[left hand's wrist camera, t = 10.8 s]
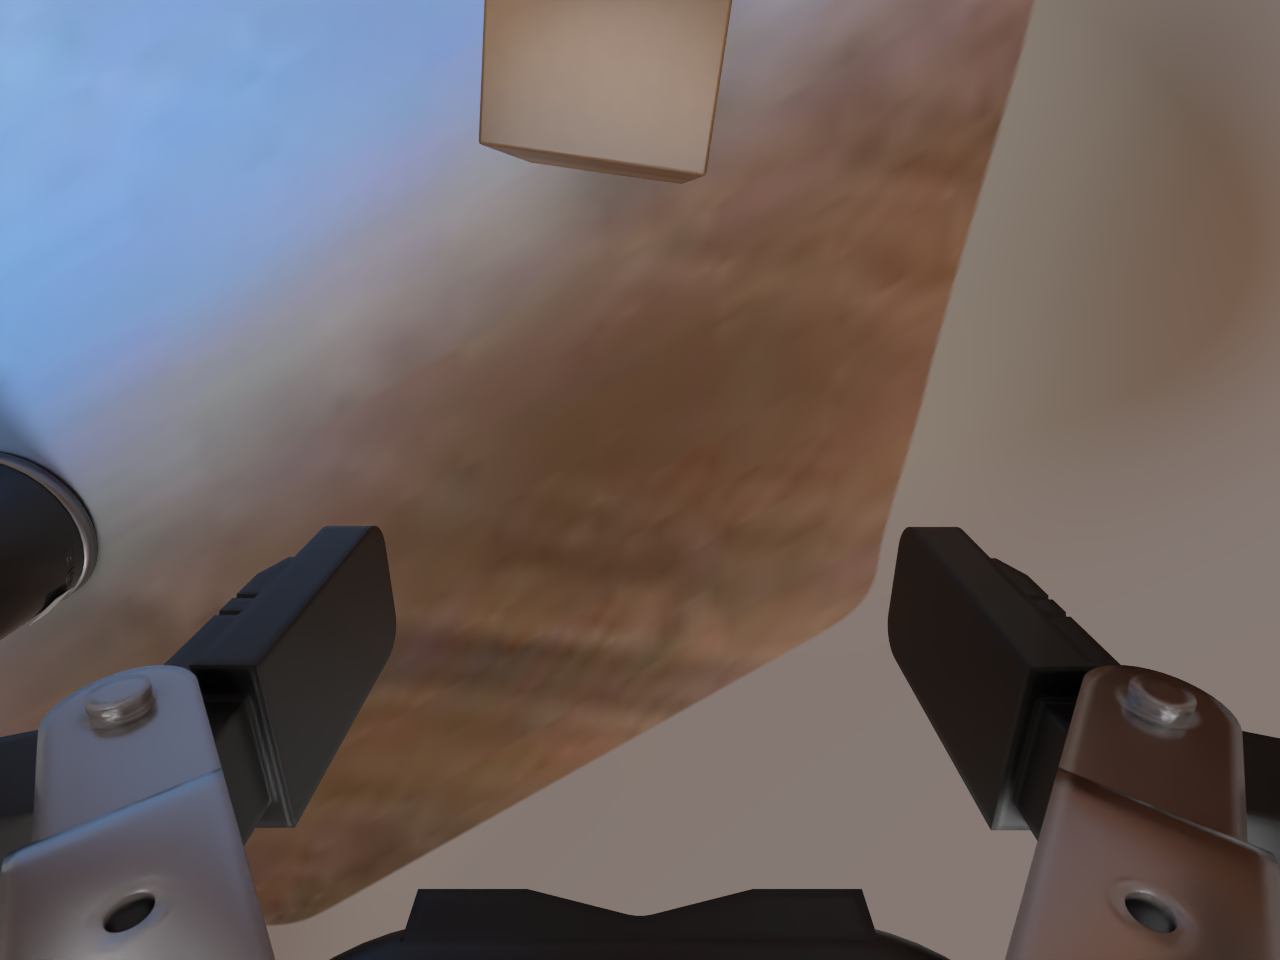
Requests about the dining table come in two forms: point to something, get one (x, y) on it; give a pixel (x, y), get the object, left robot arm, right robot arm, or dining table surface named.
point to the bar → (604, 83)
